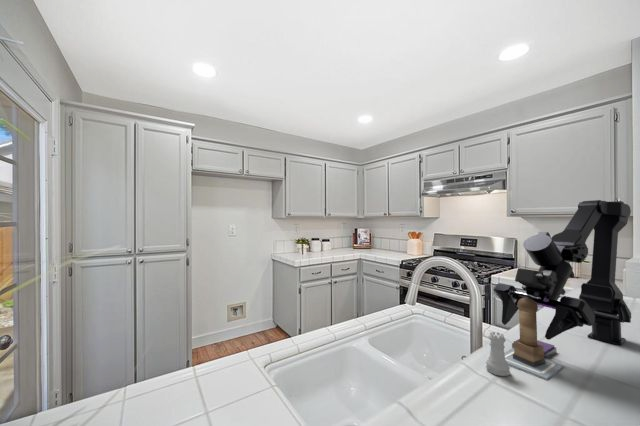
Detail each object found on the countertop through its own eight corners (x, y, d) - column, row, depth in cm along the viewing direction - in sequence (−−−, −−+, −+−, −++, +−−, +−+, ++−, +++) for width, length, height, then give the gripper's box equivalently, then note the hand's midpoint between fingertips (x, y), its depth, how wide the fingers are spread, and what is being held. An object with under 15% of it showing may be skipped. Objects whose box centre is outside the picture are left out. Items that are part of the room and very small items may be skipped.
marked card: (513, 349, 69) (513, 347, 69) (564, 366, 60) (564, 364, 60) (494, 359, 64) (494, 357, 64) (546, 380, 55) (546, 377, 55)
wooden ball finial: (524, 355, 65) (523, 294, 66) (545, 363, 61) (543, 299, 62) (512, 358, 63) (511, 296, 64) (533, 367, 59) (531, 301, 60)
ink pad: (523, 342, 73) (523, 335, 73) (556, 352, 67) (556, 345, 68) (512, 348, 70) (511, 341, 70) (545, 359, 64) (545, 352, 64)
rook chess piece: (514, 378, 56) (513, 339, 56) (490, 375, 57) (489, 337, 57) (504, 367, 60) (503, 331, 60) (482, 365, 61) (481, 329, 61)
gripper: (497, 253, 73) (469, 297, 69) (585, 261, 56) (556, 322, 51) (516, 280, 76) (490, 324, 71) (606, 296, 59) (580, 356, 54)
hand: (523, 330), depth 62 cm, fingers open, 9 cm apart
